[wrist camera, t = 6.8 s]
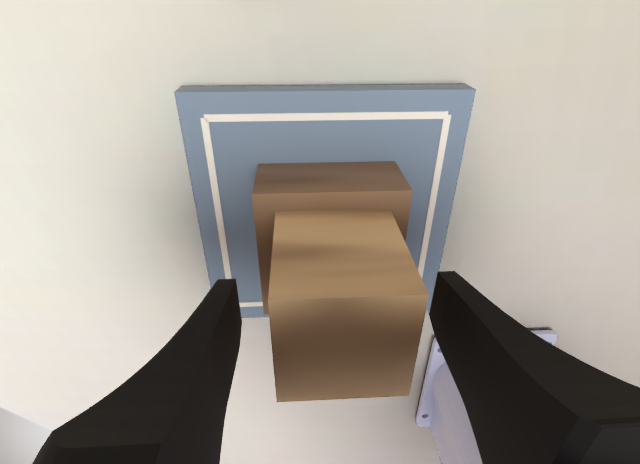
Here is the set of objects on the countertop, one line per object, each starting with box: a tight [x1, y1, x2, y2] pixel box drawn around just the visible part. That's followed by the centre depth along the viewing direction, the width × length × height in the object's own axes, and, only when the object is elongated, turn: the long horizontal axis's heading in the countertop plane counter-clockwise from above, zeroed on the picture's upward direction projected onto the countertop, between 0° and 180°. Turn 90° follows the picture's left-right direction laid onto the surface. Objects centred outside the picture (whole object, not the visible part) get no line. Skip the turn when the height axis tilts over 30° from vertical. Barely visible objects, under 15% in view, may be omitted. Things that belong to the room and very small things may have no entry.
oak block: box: [268, 209, 429, 402], centre depth 14 cm, size 4×4×5 cm
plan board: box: [174, 84, 476, 318], centre depth 18 cm, size 12×12×4 cm
